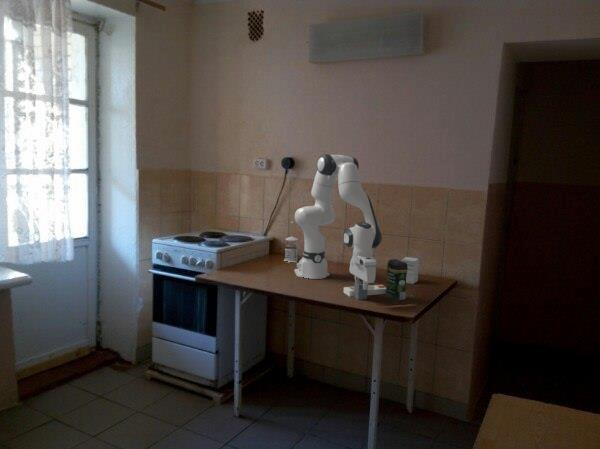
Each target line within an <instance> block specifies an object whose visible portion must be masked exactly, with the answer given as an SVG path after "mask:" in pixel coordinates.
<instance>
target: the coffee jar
mask: <svg viewBox="0 0 600 449" xmlns="http://www.w3.org/2000/svg"><path fill="white" fill-rule="evenodd" d="M386 268H387V276H386V277H387V280H386V286H385V287H386V294H385V296H386V297H387V298H389V299H392V300H397V301H399V300H400V301H401V300H406V299H407V283H406V275H407V270H408V265H407V263H405V262H402V260H399V259H397V258H395V259H389V260H388V261H387V266H386Z"/></svg>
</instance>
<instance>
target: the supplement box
mask: <svg viewBox="0 0 600 449" xmlns="http://www.w3.org/2000/svg"><path fill="white" fill-rule="evenodd" d="M401 261H402V262H405V263H407V265H408V270H407V275H406V284H411V285H414V284H415V283H417V282H418V281H419V280H418V279H419V263H420V259H419V258H417V257H410V256H409V257H408V256H405V257H404V258H402V259H401Z"/></svg>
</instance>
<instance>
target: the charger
mask: <svg viewBox="0 0 600 449" xmlns="http://www.w3.org/2000/svg"><path fill="white" fill-rule="evenodd" d="M362 285H363V281H360V282H356V281H355V282H354V285H353V287H354V296H353V298H354V299H356V300H358V301H360V300H367V299H368V295H367V289H368V286H369V284H368V285H367V289H366V290H363V289H362Z"/></svg>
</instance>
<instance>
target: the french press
mask: <svg viewBox="0 0 600 449" xmlns="http://www.w3.org/2000/svg"><path fill="white" fill-rule="evenodd" d="M294 223H295V222H294V221H290V224H294ZM284 240H285V241H287V242H291V243H290V244H286V245H285V248H284V252H285V254H284V259H283V260H284V261H288V262H287V263H290V262H294V263H298V262H299V261H298V260H299V259H298V254H299V253H300V251H299V247H298V246H300V245H299V243H298V242H297V241H299V239H298V237H294V236H293V235H291V236H288V237H286V238H285V239H284ZM293 242H294V244H293ZM284 261H283V262H284ZM297 261H298V262H297Z"/></svg>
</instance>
